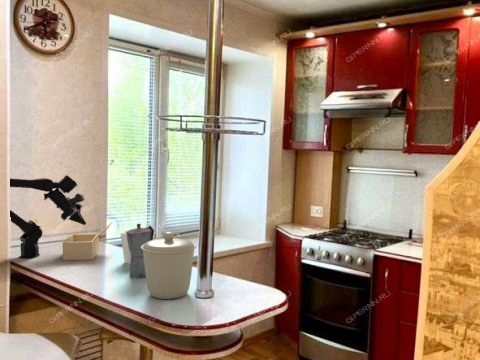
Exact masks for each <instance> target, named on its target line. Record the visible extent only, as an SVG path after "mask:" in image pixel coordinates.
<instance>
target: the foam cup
mask: <svg viewBox="0 0 480 360" xmlns="http://www.w3.org/2000/svg"><path fill="white" fill-rule="evenodd" d="M129 230H130V229H128V230H122V231H120V239H121V246H122V252H123V254H122V255H123V260H124V263H125V264H127V263H128V265H130V262H131V254H130V251H129V246H128V241H127V235H126V232H127V231H129Z"/></svg>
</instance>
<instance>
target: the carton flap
mask: <svg viewBox="0 0 480 360" xmlns="http://www.w3.org/2000/svg"><path fill="white" fill-rule="evenodd" d="M112 224H113V221H111V222H110V223H109V224H108V225H106V226H105V228H103V229H102V230H101V231H100V232H98V233H97V234H98V235H97V236H96V237H95V238H94V240H95V239H96V238H97V237H99V238H100V236H101V235H102V234H103V233H105V232H106V231H107V230H108V229H109V228H110V226H111V225H112ZM94 240H93V241H94Z"/></svg>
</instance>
